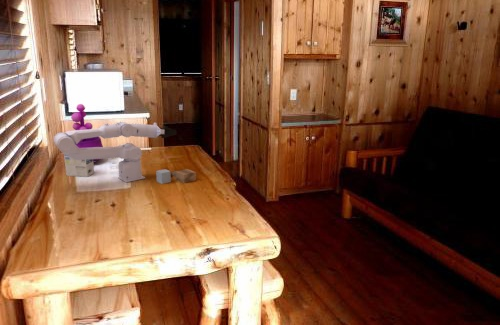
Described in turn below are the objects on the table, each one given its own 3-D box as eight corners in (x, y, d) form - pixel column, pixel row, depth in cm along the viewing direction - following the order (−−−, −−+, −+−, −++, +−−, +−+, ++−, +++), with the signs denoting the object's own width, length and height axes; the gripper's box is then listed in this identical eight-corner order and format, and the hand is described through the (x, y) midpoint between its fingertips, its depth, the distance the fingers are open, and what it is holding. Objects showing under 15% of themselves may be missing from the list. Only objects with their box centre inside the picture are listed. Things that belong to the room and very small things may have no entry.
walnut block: (183, 183, 178) (183, 174, 177) (175, 180, 183) (175, 171, 182) (195, 180, 182) (195, 172, 181) (187, 177, 187) (187, 168, 186)
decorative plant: (91, 168, 197) (86, 107, 189) (58, 165, 200) (51, 105, 192) (112, 158, 215) (107, 102, 207) (80, 156, 218) (75, 101, 210)
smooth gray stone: (176, 177, 186) (176, 175, 186) (169, 174, 190) (169, 172, 190) (187, 175, 190) (187, 172, 190) (180, 172, 194) (180, 170, 194)
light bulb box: (94, 172, 190) (92, 150, 187) (87, 177, 184) (85, 154, 181) (73, 171, 191) (70, 149, 188) (65, 176, 185) (63, 153, 182)
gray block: (162, 184, 176) (161, 173, 175) (156, 181, 180) (156, 170, 178) (170, 182, 179) (170, 171, 178) (165, 179, 182) (165, 169, 181)
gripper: (151, 121, 175) (179, 124, 183) (139, 121, 187) (166, 124, 195) (150, 137, 175) (179, 139, 183) (138, 137, 187) (166, 138, 195)
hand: (172, 132), depth 189 cm, fingers open, 7 cm apart
